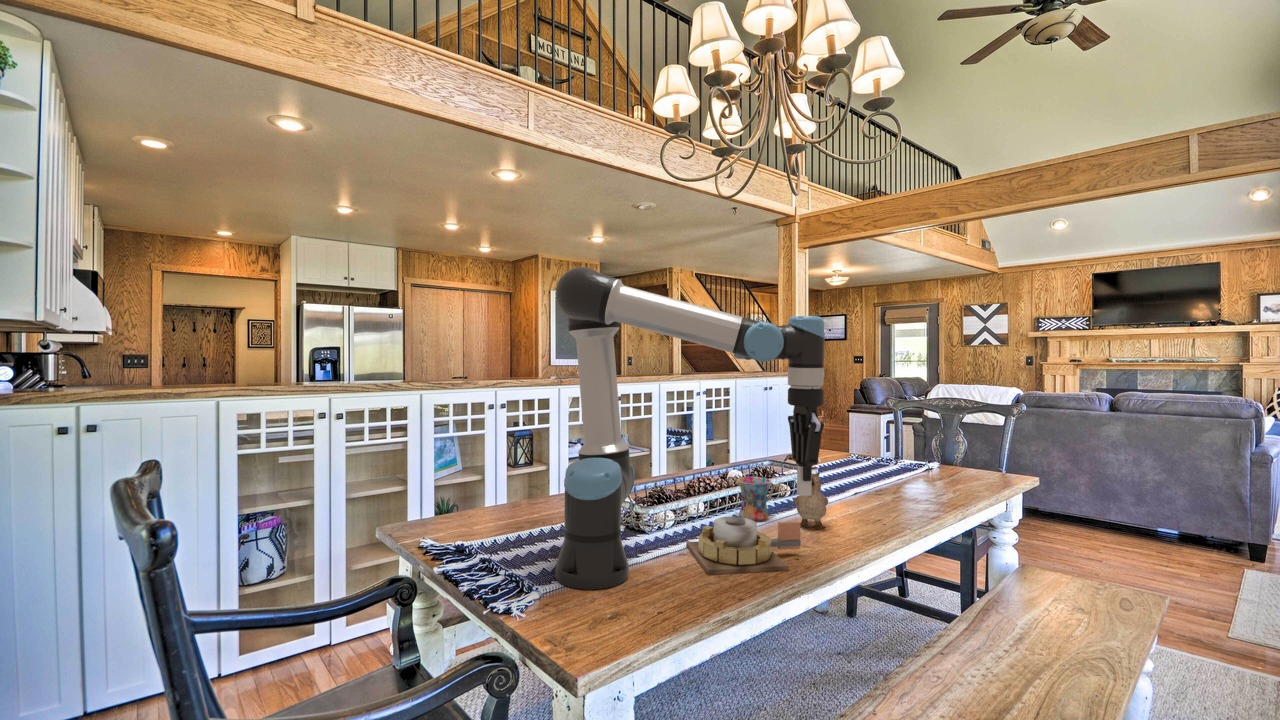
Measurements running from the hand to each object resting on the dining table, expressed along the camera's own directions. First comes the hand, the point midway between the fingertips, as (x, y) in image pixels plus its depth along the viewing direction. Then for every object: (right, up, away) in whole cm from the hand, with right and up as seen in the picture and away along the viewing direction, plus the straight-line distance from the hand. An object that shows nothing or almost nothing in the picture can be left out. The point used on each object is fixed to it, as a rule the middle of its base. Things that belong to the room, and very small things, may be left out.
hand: (804, 494), depth 131 cm
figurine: (+10, -15, +30) cm, 35 cm away
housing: (-14, -15, +5) cm, 22 cm away
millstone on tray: (-11, -14, +6) cm, 19 cm away
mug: (-3, -15, +38) cm, 41 cm away
